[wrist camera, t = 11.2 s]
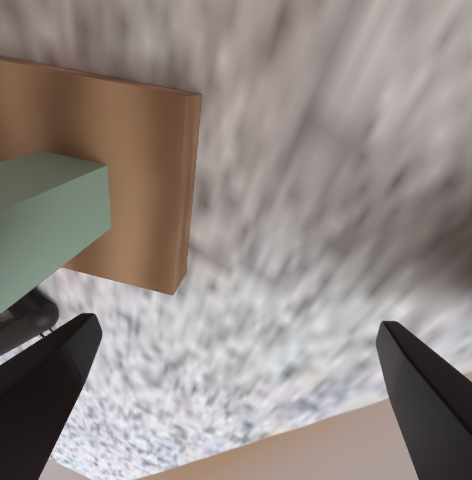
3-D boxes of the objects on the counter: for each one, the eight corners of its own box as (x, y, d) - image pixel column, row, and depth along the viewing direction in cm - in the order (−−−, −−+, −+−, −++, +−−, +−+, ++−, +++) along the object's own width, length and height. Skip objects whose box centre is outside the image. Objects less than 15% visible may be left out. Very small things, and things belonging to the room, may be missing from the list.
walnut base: (201, 94, 18) (186, 96, 15) (185, 273, 25) (173, 295, 22) (-1, 55, 19) (-48, 51, 17) (37, 237, 26) (9, 254, 24)
